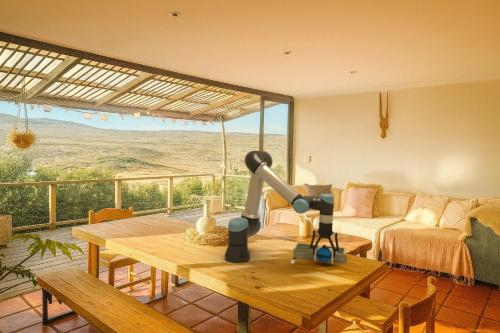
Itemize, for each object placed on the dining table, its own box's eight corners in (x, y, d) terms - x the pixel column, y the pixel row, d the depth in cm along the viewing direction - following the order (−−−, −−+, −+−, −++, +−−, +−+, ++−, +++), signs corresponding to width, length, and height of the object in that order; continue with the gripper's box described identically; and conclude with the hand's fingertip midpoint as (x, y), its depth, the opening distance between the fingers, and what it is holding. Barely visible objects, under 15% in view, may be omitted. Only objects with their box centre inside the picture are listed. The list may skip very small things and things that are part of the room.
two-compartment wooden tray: (344, 265, 191) (345, 254, 191) (292, 258, 200) (293, 249, 199) (345, 257, 205) (345, 247, 205) (296, 252, 214) (296, 242, 214)
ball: (337, 260, 197) (337, 249, 196) (326, 258, 198) (327, 248, 198) (337, 257, 202) (337, 247, 202) (327, 255, 204) (327, 246, 204)
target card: (304, 265, 189) (304, 264, 189) (290, 263, 191) (290, 262, 191) (305, 261, 195) (305, 260, 195) (292, 260, 197) (292, 259, 197)
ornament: (334, 262, 188) (335, 244, 188) (326, 265, 182) (327, 247, 182) (320, 258, 194) (321, 241, 194) (312, 261, 188) (313, 244, 187)
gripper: (345, 222, 187) (343, 262, 189) (307, 218, 194) (305, 257, 195) (345, 225, 180) (343, 266, 181) (305, 221, 186) (303, 261, 188)
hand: (323, 261), depth 188 cm, fingers closed on ornament, 9 cm apart
